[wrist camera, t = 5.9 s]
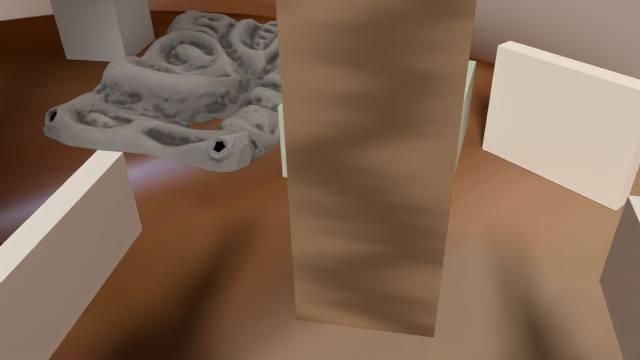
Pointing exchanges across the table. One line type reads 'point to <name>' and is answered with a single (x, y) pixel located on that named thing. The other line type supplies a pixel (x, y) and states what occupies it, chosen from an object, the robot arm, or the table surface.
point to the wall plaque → (184, 96)
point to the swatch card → (565, 122)
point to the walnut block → (371, 153)
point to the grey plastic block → (103, 28)
